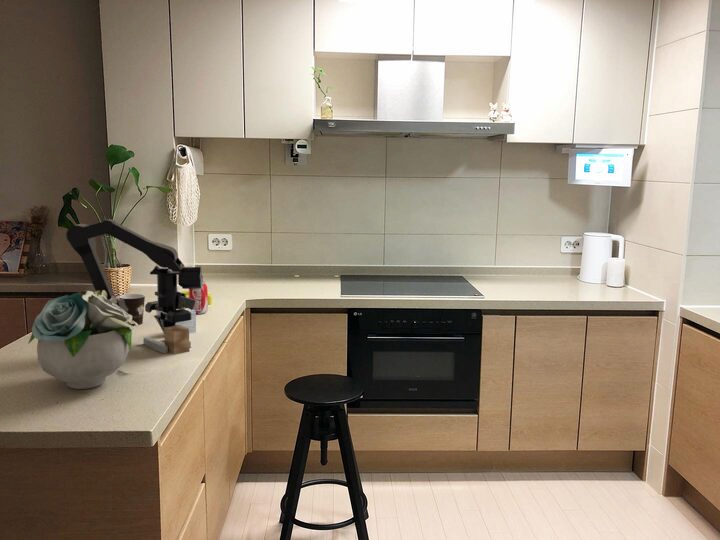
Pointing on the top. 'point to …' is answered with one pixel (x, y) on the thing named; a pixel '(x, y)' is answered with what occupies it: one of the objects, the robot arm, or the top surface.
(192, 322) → the medicine box
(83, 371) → the flower arrangement
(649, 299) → the top surface
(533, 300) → the top surface
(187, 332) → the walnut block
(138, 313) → the coffee mug
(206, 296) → the soda can
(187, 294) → the ashtray
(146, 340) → the chute
